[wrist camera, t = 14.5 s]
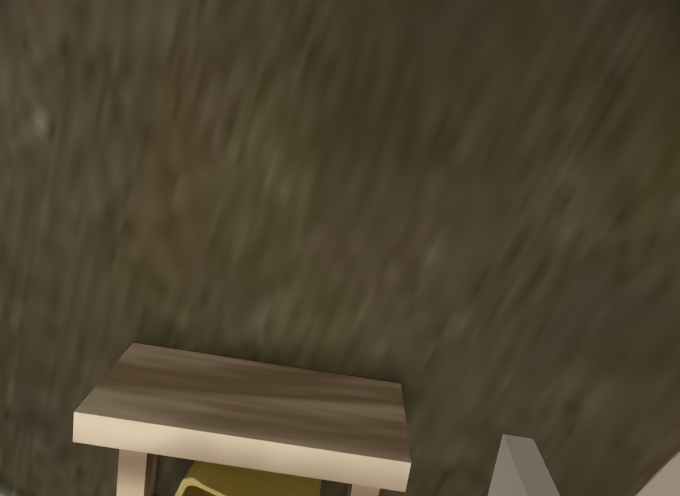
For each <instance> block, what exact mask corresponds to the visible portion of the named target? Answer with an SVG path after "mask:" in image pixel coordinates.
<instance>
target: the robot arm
mask: <svg viewBox="0 0 680 496" xmlns="http://www.w3.org/2000/svg"><path fill="white" fill-rule="evenodd" d="M488 496H560V495H559V493H558V491H557V489H556V487H555V485H554V482H553V480H552V478H551V476H550V474H549V472H548V470H547V468H546V465H545V463H544V461H543V459H542V457H541V455H540V453H539V451H538V449H537V446H536V444H535V442H534V440H533V439H530V438H524V437H517V436H510V435H504V434H503V436H502V440H501V445H500V449H499V453H498V457H497V461H496V465H495V469H494V473H493V477H492V481H491V485H490V489H489V493H488Z"/></svg>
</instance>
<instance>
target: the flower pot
mask: <svg viewBox="0 0 680 496" xmlns="http://www.w3.org/2000/svg"><path fill="white" fill-rule="evenodd" d="M320 491H321V479H316V478H310V477H303V476H296V475H290V474H283V473H276V472H270V471H263V470H257V469H250V468H243V467H237V466H230V465H224V464H217V463H210V462H204V461H197V460H195V461H194V463H193V465H192V466H191V468H190V469H189V471H188V472H187V474H186V476H185V477H184V479H183V480H182V482H181V484H180V486H179V488H178V490H177V492H176V494H175V496H320Z"/></svg>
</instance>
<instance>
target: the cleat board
mask: <svg viewBox="0 0 680 496" xmlns="http://www.w3.org/2000/svg"><path fill="white" fill-rule="evenodd" d="M73 442H78V443H85V444H91V445H98V446H105V447H111V448H118V449H120V450H119V465H118V480H117V495H116V496H154V493H155V481H156V469H157V458H158V455H164V456H171V457H177V458H184V459H190V460H197V461H204V462H210V463H217V464H224V465H230V466H237V467H243V468H250V469H257V470H263V471H270V472H276V473H283V474H290V475H296V476H303V477H310V478H316V479H323V480H329V481H336V482H343V483H349V485H348V491H347V496H378V495H379V490H380V488H382V489H389V490H396V491H402V492H405V491H406V486H407V481H408V476H409V471H410V467H411V457H410V450H409V442H408V434H407V426H406V419H405V411H404V403H403V395H402V388H401V383H395V382H388V381H382V380H375V379H369V378H362V377H356V376H349V375H342V374H336V373H329V372H323V371H316V370H310V369H303V368H297V367H290V366H284V365H277V364H270V363H264V362H257V361H251V360H244V359H238V358H231V357H225V356H218V355H211V354H205V353H198V352H192V351H185V350H179V349H172V348H166V347H159V346H152V345H146V344H139V343H132V345H131V346H130V347H129V348H128V349H127V350H126V352H125V353H124V354H123V355H122V356H121V357H120V359H119V360H118V361H117V362H116V363H115V365H114V366H113V367H112V368H111V369H110V370H109V372H108V373H107V374H106V375H105V376H104V377H103V379H102V380H101V381H100V382H99V383H98V384H97V386H96V387H95V388H94V389H93V390H92V391H91V393H90V394H89V395H88V396H87V397H86V398H85V400H84V401H83V402H82V403H81V404H80V405H79V407H78V408H77V409H76V410H75V411H74V424H73Z"/></svg>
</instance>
